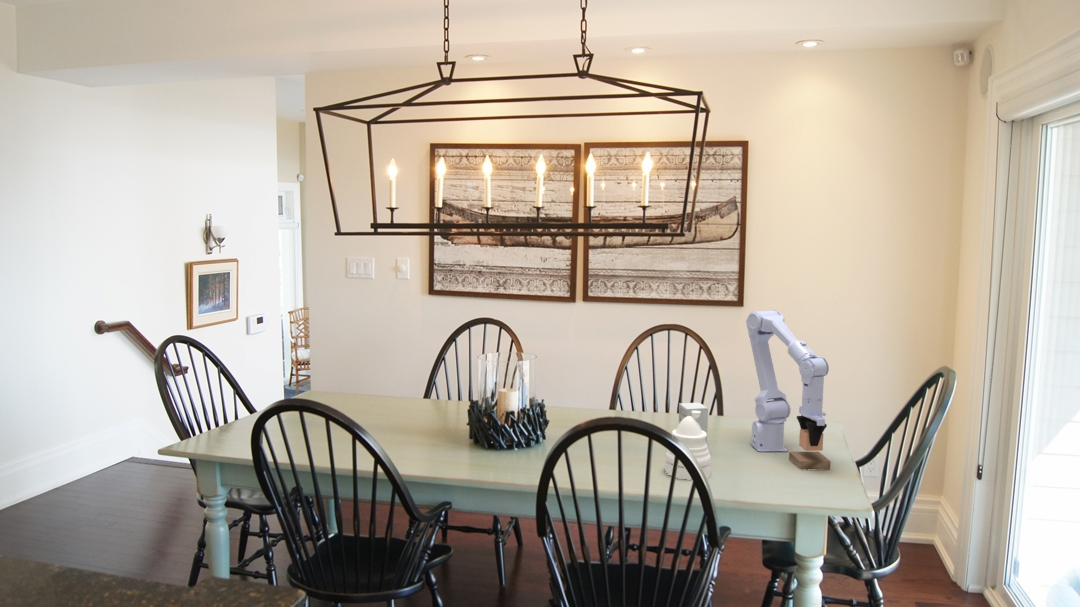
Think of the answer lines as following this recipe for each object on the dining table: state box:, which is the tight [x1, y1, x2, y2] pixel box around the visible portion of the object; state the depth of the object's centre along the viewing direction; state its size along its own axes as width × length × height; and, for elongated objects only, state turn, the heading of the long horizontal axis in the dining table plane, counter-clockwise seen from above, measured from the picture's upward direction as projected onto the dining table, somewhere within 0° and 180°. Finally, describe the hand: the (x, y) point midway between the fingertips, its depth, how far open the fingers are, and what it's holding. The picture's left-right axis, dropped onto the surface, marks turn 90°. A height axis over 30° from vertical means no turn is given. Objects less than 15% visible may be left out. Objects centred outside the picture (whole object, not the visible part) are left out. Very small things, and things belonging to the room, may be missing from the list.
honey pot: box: [664, 411, 712, 481], centre depth 220 cm, size 13×13×18 cm
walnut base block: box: [788, 451, 832, 471], centre depth 228 cm, size 9×9×3 cm
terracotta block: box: [798, 428, 824, 452], centre depth 227 cm, size 5×5×5 cm
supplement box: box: [678, 402, 709, 444], centre depth 248 cm, size 7×7×13 cm
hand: (810, 442), depth 227 cm, fingers closed on terracotta block, 5 cm apart
